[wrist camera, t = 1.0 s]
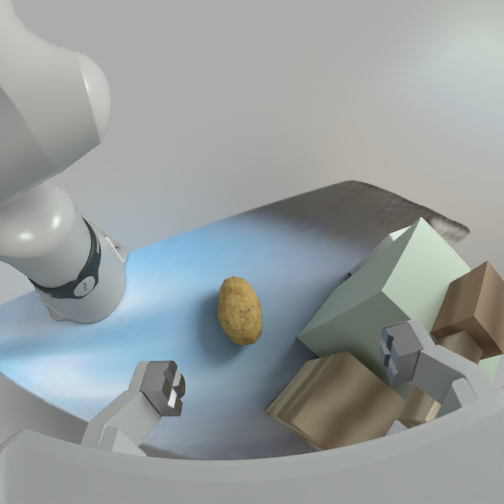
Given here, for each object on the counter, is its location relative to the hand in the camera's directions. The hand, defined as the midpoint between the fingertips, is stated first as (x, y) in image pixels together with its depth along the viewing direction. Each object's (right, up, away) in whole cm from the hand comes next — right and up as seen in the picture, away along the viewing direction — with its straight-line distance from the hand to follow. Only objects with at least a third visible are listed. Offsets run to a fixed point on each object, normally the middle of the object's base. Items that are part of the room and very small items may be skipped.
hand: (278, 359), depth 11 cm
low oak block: (+9, -22, +33) cm, 40 cm away
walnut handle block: (+18, -6, +12) cm, 23 cm away
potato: (-4, -7, +38) cm, 38 cm away
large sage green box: (+18, -13, +38) cm, 44 cm away
